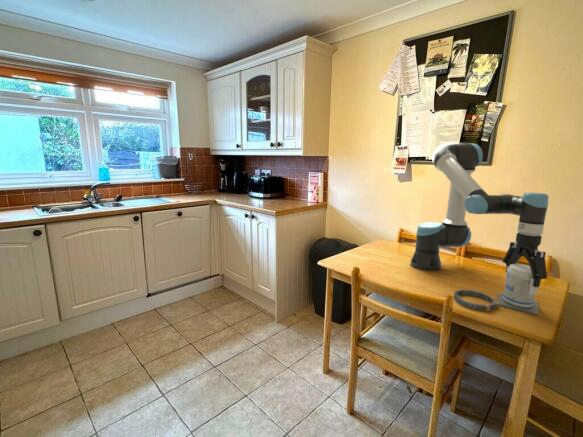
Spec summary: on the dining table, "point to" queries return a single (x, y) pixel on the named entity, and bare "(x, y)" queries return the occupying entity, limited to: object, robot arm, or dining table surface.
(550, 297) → the dining table surface
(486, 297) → the collar
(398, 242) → the dining table surface
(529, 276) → the supplement tub
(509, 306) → the trivet
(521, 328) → the dining table surface
